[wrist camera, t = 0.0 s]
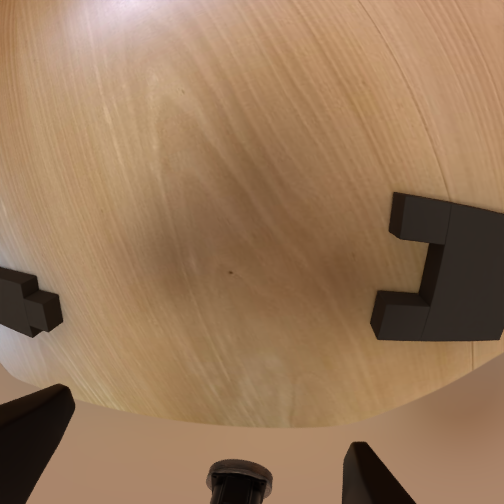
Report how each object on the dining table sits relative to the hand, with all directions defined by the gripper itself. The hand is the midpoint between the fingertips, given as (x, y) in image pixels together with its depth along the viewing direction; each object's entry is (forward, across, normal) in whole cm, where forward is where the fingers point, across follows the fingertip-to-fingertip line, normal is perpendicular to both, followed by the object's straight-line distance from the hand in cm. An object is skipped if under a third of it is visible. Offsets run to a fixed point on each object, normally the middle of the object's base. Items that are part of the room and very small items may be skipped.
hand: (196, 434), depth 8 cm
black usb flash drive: (+15, +27, +6) cm, 31 cm away
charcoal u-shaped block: (+15, -15, -2) cm, 21 cm away
